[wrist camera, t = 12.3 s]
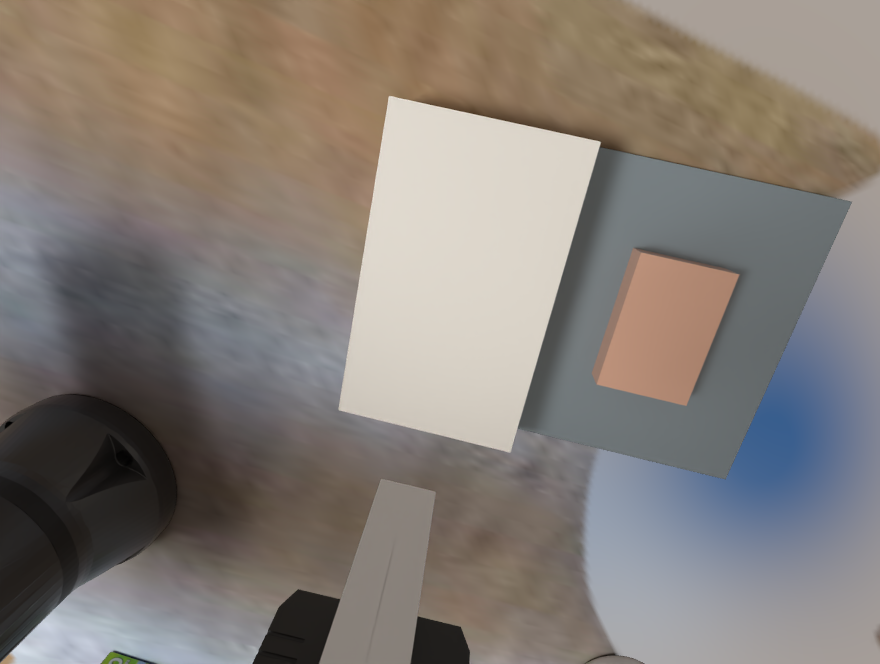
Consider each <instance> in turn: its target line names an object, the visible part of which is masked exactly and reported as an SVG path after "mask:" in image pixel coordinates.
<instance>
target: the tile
mask: <svg viewBox="0 0 880 664" xmlns="http://www.w3.org/2000/svg"><path fill="white" fill-rule="evenodd" d="M738 277H739V274H737V273H735V272H732V271H730V270H728V269H725V268H721V267H716V266H712V265H707V264H703V263H699V262H694V261H690V260H685V259H681V258H676V257H672V256H668V255H663V254H659V253H654V252H650V251H645V250H641V249H636V248H633V250H632V253H631V256H630V259H629V262H628V265H627V268H626V271H625V274H624V277H623V280H622V283H621V286H620V289H619V292H618V295H617V298H616V301H615V304H614V307H613V310H612V313H611V316H610V319H609V322H608V325H607V328H606V331H605V334H604V337H603V340H602V343H601V346H600V349H599V352H598V356H597V359H596V362H595V365H594V368H593V371H592V375H593V378H594V380H595V382H596V384H597V385H601V386H605V387H609V388H613V389H618V390H622V391H626V392H630V393H634V394H638V395H643V396H647V397H651V398H655V399H659V400H664V401H668V402H672V403H676V404H680V405H685V406H687V403H688V401H689V398H690V396H691V393H692V391H693V388H694V386H695V383H696V381H697V378H698V376H699V373H700V371H701V368H702V366H703V364H704V361H705V359H706V356H707V354H708V351H709V349H710V346H711V344H712V341H713V339H714V336H715V334H716V331H717V329H718V327H719V324H720V322H721V319H722V317H723V314H724V312H725V309H726V307H727V304H728V302H729V299H730V297H731V294H732V292H733V289H734V287H735V285H736V282H737V280H738Z"/></svg>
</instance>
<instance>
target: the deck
mask: <svg viewBox="0 0 880 664" xmlns="http://www.w3.org/2000/svg"><path fill="white" fill-rule="evenodd" d="M600 143H601V142H600V141H595V140H590V139H586V138H581V137H577V136H572V135H567V134H563V133H558V132H553V131H549V130H544V129H540V128H535V127H530V126H526V125H521V124H516V123H512V122H507V121H503V120H498V119H493V118H489V117H484V116H479V115H475V114H470V113H466V112H461V111H456V110H452V109H447V108H442V107H438V106H433V105H429V104H424V103H419V102H415V101H410V100H406V99H401V98H396V97H392V96H389V100H388V106H387V112H386V118H385V125H384V131H383V137H382V143H381V149H380V156H379V162H378V168H377V174H376V180H375V186H374V193H373V199H372V205H371V211H370V217H369V224H368V230H367V236H366V242H365V248H364V255H363V261H362V267H361V273H360V279H359V285H358V292H357V298H356V304H355V310H354V316H353V323H352V329H351V335H350V341H349V347H348V353H347V360H346V366H345V372H344V378H343V384H342V391H341V397H340V403H339V409H338V410H340V411H344V412H348V413H352V414H356V415H360V416H364V417H368V418H372V419H376V420H380V421H384V422H388V423H392V424H396V425H401V426H405V427H409V428H413V429H417V430H421V431H425V432H429V433H433V434H437V435H441V436H445V437H449V438H453V439H457V440H461V441H465V442H469V443H473V444H477V445H481V446H486V447H490V448H494V449H498V450H502V451H506V452H511V449H512V445H513V442H514V438H515V435H516V432H517V428H518V425H519V421H520V418H521V414H522V411H523V408H524V404H525V401H526V397H527V394H528V390H529V387H530V383H531V380H532V377H533V373H534V370H535V366H536V363H537V359H538V356H539V353H540V349H541V346H542V342H543V339H544V335H545V332H546V329H547V325H548V322H549V318H550V315H551V311H552V308H553V305H554V301H555V298H556V294H557V291H558V287H559V284H560V281H561V277H562V274H563V270H564V267H565V263H566V260H567V257H568V253H569V250H570V246H571V243H572V239H573V236H574V232H575V229H576V226H577V222H578V219H579V215H580V212H581V208H582V205H583V202H584V198H585V195H586V191H587V188H588V184H589V181H590V178H591V174H592V171H593V167H594V164H595V160H596V157H597V154H598V150H599V147H600Z"/></svg>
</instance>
